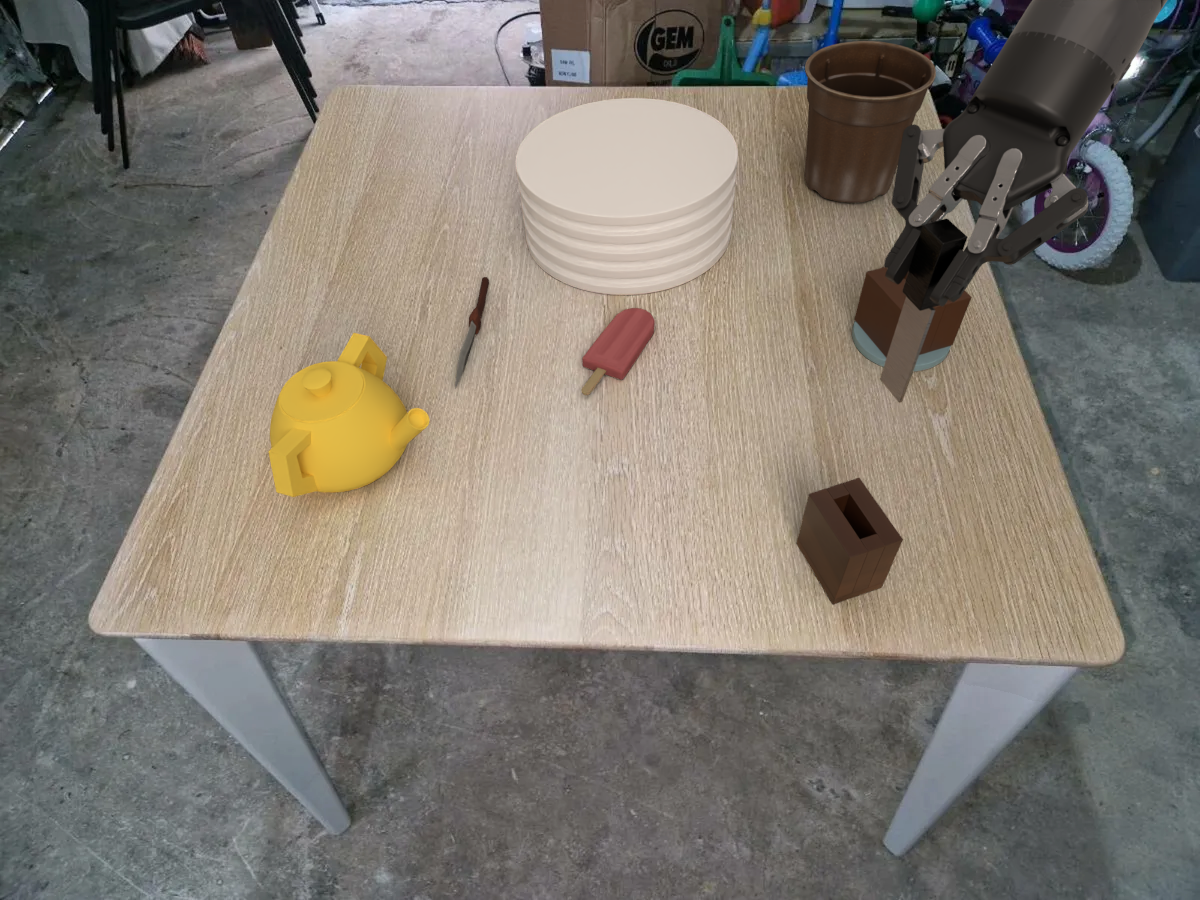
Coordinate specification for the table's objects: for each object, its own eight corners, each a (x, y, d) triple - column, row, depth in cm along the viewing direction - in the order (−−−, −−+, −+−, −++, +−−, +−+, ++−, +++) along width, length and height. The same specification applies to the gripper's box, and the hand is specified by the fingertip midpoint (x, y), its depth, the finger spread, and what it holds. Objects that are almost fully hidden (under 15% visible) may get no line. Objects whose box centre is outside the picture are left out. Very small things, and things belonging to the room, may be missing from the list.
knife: (463, 396, 90) (458, 377, 88) (449, 395, 91) (444, 376, 88) (495, 291, 102) (491, 273, 100) (483, 291, 102) (479, 272, 100)
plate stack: (574, 321, 98) (566, 242, 89) (498, 205, 114) (485, 130, 105) (770, 255, 104) (781, 176, 95) (671, 155, 121) (673, 79, 112)
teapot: (403, 545, 78) (373, 477, 69) (241, 509, 82) (194, 440, 73) (478, 400, 90) (460, 326, 81) (333, 374, 94) (302, 301, 85)
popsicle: (562, 381, 89) (623, 302, 97) (563, 391, 90) (623, 311, 98) (604, 396, 87) (663, 314, 95) (605, 406, 88) (663, 324, 96)
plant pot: (783, 151, 120) (798, 40, 107) (892, 148, 119) (921, 36, 106) (795, 214, 109) (814, 99, 97) (915, 211, 108) (949, 96, 96)
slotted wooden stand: (915, 298, 97) (932, 244, 91) (969, 356, 90) (993, 302, 84) (834, 321, 95) (847, 266, 89) (884, 382, 89) (901, 328, 82)
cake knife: (891, 375, 68) (944, 215, 56) (911, 399, 66) (971, 239, 54) (870, 381, 68) (920, 222, 56) (890, 405, 66) (945, 246, 54)
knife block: (842, 527, 77) (859, 477, 70) (881, 587, 72) (903, 539, 66) (795, 543, 76) (808, 493, 70) (832, 604, 71) (849, 557, 65)
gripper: (957, 1, 53) (816, 237, 57) (1177, 65, 46) (999, 327, 51) (973, 54, 59) (845, 263, 64) (1169, 117, 53) (1011, 346, 57)
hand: (914, 290), depth 57 cm, fingers closed on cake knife, 3 cm apart
